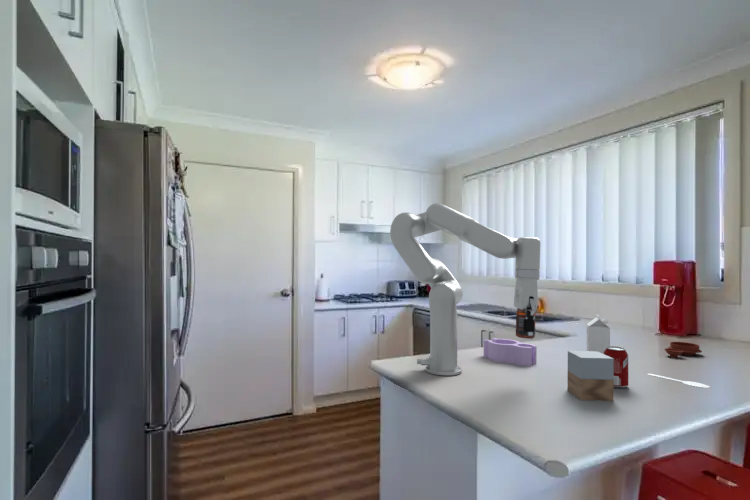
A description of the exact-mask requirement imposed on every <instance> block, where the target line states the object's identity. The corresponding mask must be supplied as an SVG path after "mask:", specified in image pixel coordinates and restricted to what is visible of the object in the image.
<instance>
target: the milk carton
mask: <svg viewBox="0 0 750 500" xmlns="http://www.w3.org/2000/svg"><path fill="white" fill-rule="evenodd" d="M608 323H609V321H607V320H606V319H605V318H604V317H602V319H600V315H599V314H596V317H594V318H593V319H592V320H590V321H589V322H587V323H586V351H597V352H600V353H602V354H604V351H605V350H606V346H611V328H610V326H608V325H607V324H608Z"/></svg>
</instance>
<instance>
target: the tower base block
mask: <svg viewBox="0 0 750 500" xmlns="http://www.w3.org/2000/svg"><path fill="white" fill-rule="evenodd" d="M614 389H615V388H614V380H601V379H580V378H579V377H577V376H576V375H574V374H572V373H571V372H569V371H568V370H567V391H568V392H569V391H570V392H569V393H571V394H572V395H573V396H575V397H576V396H577V397H576V398H578V399H579V400H580V399H581V401H596V400H601V402H602V401H603V402H614V400H615V399H614V393H615V392H614Z"/></svg>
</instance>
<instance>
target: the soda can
mask: <svg viewBox="0 0 750 500" xmlns="http://www.w3.org/2000/svg"><path fill="white" fill-rule="evenodd" d="M604 355H607V356H609V357H611V358H613V362H614V389H615V388H616V389H625V388H628V387H629V354H628V352H627V348H625V347H623V346H616V345H615V346H614V345H610V346H606V350H605V351H604Z"/></svg>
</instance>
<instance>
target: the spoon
mask: <svg viewBox="0 0 750 500" xmlns="http://www.w3.org/2000/svg"><path fill="white" fill-rule="evenodd" d="M647 376H652V377H655V376H656V377H655V378H661V379H664V380H669V379H670V380H669V381H674V382H680V383H682V384H684V385H686V386H690V387H695V388H702V389H704V388H705V389H711V386H710V385H708V384H704V383H701V382H697V381H693V380H692V381H690V380H688V381H687V380H681V379H676V378H672V377H668V376H663V375H658V374H656V373H654V374H653V373H647Z"/></svg>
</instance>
